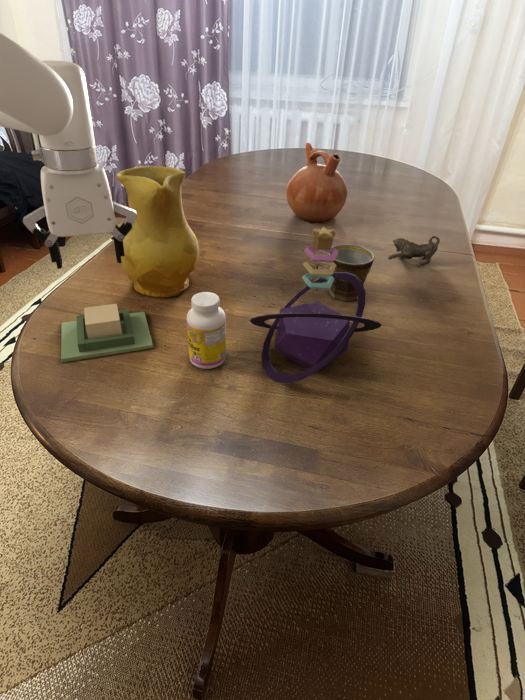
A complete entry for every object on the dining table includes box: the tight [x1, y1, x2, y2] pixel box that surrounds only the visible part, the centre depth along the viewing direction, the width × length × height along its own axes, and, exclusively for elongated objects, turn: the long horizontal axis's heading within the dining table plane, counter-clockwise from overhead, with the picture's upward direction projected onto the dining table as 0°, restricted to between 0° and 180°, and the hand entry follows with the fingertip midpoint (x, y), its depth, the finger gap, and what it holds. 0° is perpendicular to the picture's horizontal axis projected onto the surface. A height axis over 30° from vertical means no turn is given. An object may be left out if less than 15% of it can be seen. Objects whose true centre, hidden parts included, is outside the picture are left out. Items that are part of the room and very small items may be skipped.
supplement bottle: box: [186, 291, 227, 370], centre depth 81 cm, size 7×7×13 cm
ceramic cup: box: [315, 243, 375, 302], centre depth 103 cm, size 13×10×10 cm
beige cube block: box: [83, 303, 122, 339], centre depth 88 cm, size 6×6×4 cm
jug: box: [286, 142, 348, 224], centre depth 138 cm, size 18×18×20 cm
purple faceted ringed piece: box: [249, 226, 382, 384], centre depth 79 cm, size 22×21×25 cm
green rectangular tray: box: [60, 308, 154, 363], centre depth 89 cm, size 16×12×3 cm
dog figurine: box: [387, 235, 441, 268], centre depth 119 cm, size 12×6×7 cm, turn 82°
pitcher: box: [116, 165, 200, 298], centre depth 100 cm, size 17×19×25 cm
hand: (89, 262), depth 80 cm, fingers open, 9 cm apart
